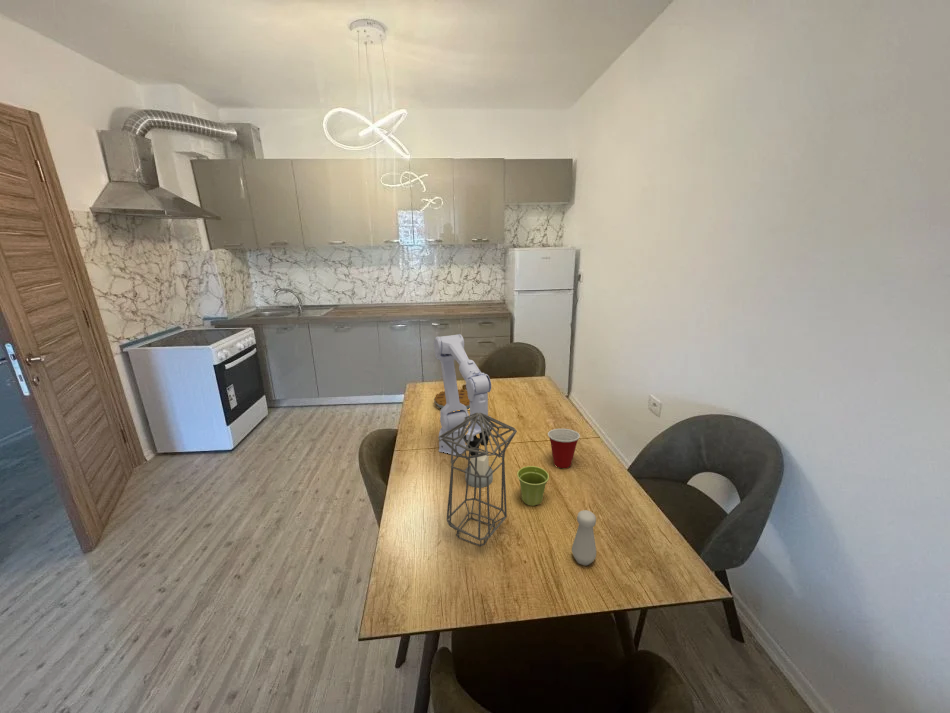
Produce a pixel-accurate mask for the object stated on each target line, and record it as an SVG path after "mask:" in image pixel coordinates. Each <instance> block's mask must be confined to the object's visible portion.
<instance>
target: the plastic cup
mask: <svg viewBox="0 0 950 713" xmlns="http://www.w3.org/2000/svg"><path fill="white" fill-rule="evenodd" d="M547 437H548V438H549V442H550V446H551V453H552V454H551V455H552V462H553V465H554V464H555V465H556V466H557V467H556V466H555V465H554V466H555V467H556V468H558V467H560V468H567V469H569V468H570V467H571V465H572V463H573V459H574V456H575V451H576V448H577V444H578V441H579V440H580V437H581V435H580V433H579V432H578V431H576V430H573V429H569V428H554V429H553V428H552V429H551V430H549V431H548V432H547ZM569 466H570V467H569ZM568 467H569V468H568ZM560 468H559V469H560Z"/></svg>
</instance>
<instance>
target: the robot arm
mask: <svg viewBox="0 0 950 713" xmlns="http://www.w3.org/2000/svg"><path fill="white" fill-rule="evenodd" d="M433 350H434V351H433V352H434V357H435V359H436V360H439V362H440V367H441V374H442V381H443V388H444V391H445V396H446V405H445V406H444V407H443V408H442V409H440V410H439V411H440V412H439V414H440V417H439V418H440V420H439V421H440V426H441V428H440V429H439V433H438V437H439V436H440V435H442V434H444V433H445V432H447V431H449V430H451V429H452V428H454V427H456V426H457V425H459V424H461V423H462V422H463V421H464V420H465V417H467V416H469V415H472V414H474V413H483V414H485V415H487V416H489V417H491V416H490V415H489V399H488V398H489V394H488V393H490V392H491V390H492V381H491V378H490V376H489V375H488V374H487V373H485V372H482V371H481V369H479V367H478V366H477V364H476V362H475V361H474V360H473V359H469V357H468V355H467V353H466V350H465V339H464V337H463V335H462V334H461V333H458V334H452V335H443V336H442V335H441V336H435V338H434V339H433ZM455 361H456V362H457V364H458V365H459V366H458V371H459V373H460V375H461V376H462V378H463V379H464V382H465V387H466V388H465V390H467V392H468V399H469V400H470V410H467V408H466V406H465V405H463V404H461V403H460V402H459V395H458V390H459V389H458V383H457V382H458V381H457V376H456V375H457V374H456V369H455V368H456V367H455ZM457 410H460V411H457ZM453 411H455V412H453ZM468 411H469V412H468ZM472 416H473V415H472ZM470 417H471V416H470ZM468 419H469V418H468ZM477 419H479V416H478V418H477ZM472 420H473V419H472ZM472 420H471V421H472ZM481 420H482V419H481ZM471 421H469V422H468V423H466V426H465V429H464V431H465V430H466V428H467V427H468V426H469V424H470V423H471ZM478 422H479V421H478ZM479 423H480V422H479ZM473 424H474V422H473V423H472V425H471V426H470V428H469V429H468V431H467V432H466V434H465V435H464V439H465V440H466V441H467V442H468V439H469V436H470V433H471V430H472V427H473ZM482 425H483V427H484V424H483V423H482ZM487 426H488V425H487ZM488 427H489V426H488ZM484 428H485V427H484ZM462 429H463V427H461V428H460V434H459V436H460V435H461V432H462ZM486 429H487V428H486ZM487 431H488V430H487ZM490 431H491V432H492V431H493V430H492V429H491V428H490ZM463 433H464V432H463ZM485 433H486V432H485V431H484V435H485ZM478 435H479V436H478ZM447 437H451V438H452V434H450V435H449V436H447ZM456 437H458V429H457V430H456V431H454V432H453V438H456ZM482 437H483V436H482V431H481V427H480V426H479V425H478V424H477V423H476V424H475V427H474V431H473V434H472V437H471V440H470V443H469V444H470V446H471V447H476V446H477V444H478V443H479V442H480V440H481V439H482ZM489 437H491V436H490V435H489ZM441 439H442V438H441V437H440V440H441ZM459 439H460V438H459ZM459 439H457V440H454V442H458V440H459ZM464 439H463V438H462V440H461V441H460V443H459V444H461V445H463V446H465V447H466V445H467V443H466V441H465V440H464ZM448 440H450V439H448ZM485 440H486V445H487V446H488V445H489V439H488V436H487V435H486V436H485ZM451 441H452V440H451ZM448 443H449V444H450V445H451V446H452V443H450V442H448ZM455 445H456V444H454V449H455ZM438 446H439V447H438V448H439V449H438V452H439V453H443V452H444V453H443V454H447V453H448V455H451V450H452V449H451V448H450V447H449V446H448V445H447V444H446V443H444V442H443V441H442V440H441V441H440V442H439V441H438ZM470 446H468V448H470ZM480 446H483V447H484V442H483V440H482V442H481V443H480V445H479V446H478V447H477V448H479V449H480ZM456 448H457V452H458V453H459V454H461V453H462V452H463V451H464V450H465V449H464V448H462V447H460V446H456ZM473 450H475V449H473ZM477 450H478V449H477ZM478 451H480V450H478ZM473 455H475V452H471V455H470V456H473ZM477 455H478V453H477ZM453 456H456V453H455V452H454V451H453Z"/></svg>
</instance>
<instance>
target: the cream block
mask: <svg viewBox="0 0 950 713" xmlns="http://www.w3.org/2000/svg"><path fill="white" fill-rule="evenodd" d="M478 454H481V453H478ZM470 461H471V462H472V464H473V465H474V467H475V458H470ZM489 466H490V465H489V456H487V455H484V456H480V457H477V471H478V473H479V474H480V475H485V474H486V472H487V471H488V469H489ZM471 473H472V474H474V475H475V471H474V469H473V467H472V466H471Z"/></svg>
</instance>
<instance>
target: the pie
mask: <svg viewBox="0 0 950 713" xmlns="http://www.w3.org/2000/svg"><path fill="white" fill-rule="evenodd" d="M458 395H459V402H460V403H461V404H463V405H465V406H466V408H467V409H469V408H470V400H469V399H468V392H467V389H463V388H461V389H458ZM433 401H434V403H435V404H436V406H437V408H438V407H439V408H441V409H442V408H443V407H444V406H445V405H446V396H445V390H444V391H443V390H442V391H440V392H439V393H436V394H435V396H434V398H433ZM439 408H438V409H439ZM441 409H440V410H441Z"/></svg>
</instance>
